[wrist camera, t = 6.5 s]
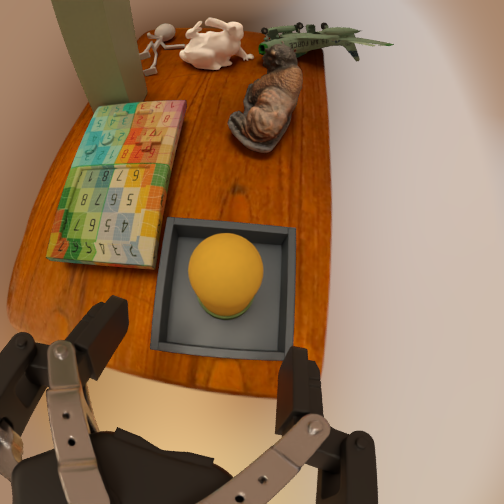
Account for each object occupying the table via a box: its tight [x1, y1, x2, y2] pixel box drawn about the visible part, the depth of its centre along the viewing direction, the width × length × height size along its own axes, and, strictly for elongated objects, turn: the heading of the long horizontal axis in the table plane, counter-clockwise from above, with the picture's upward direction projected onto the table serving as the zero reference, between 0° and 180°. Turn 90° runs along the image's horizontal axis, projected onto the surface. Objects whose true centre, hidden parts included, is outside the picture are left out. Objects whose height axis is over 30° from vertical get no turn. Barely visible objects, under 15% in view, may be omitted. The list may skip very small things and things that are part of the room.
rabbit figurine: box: [180, 18, 254, 70], centre depth 31 cm, size 12×8×10 cm, turn 88°
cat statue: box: [228, 41, 303, 153], centre depth 28 cm, size 12×7×10 cm, turn 165°
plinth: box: [51, 0, 147, 113], centre depth 18 cm, size 6×6×30 cm
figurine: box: [139, 24, 185, 76], centre depth 34 cm, size 6×6×15 cm
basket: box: [150, 217, 296, 361], centre depth 24 cm, size 11×11×4 cm
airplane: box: [259, 22, 394, 61], centre depth 38 cm, size 24×23×10 cm
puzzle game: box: [46, 100, 187, 270], centre depth 26 cm, size 12×5×20 cm
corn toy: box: [188, 233, 263, 320], centre depth 20 cm, size 5×5×11 cm
